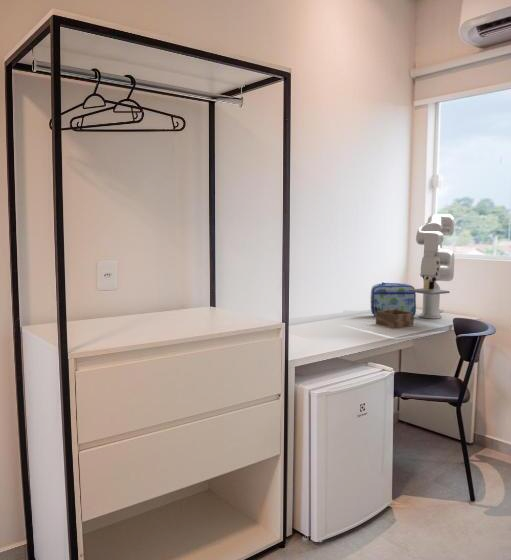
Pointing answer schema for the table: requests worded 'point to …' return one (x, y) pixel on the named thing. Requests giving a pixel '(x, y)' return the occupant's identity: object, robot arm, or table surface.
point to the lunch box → (392, 297)
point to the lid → (427, 290)
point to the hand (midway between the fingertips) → (429, 288)
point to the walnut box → (395, 318)
